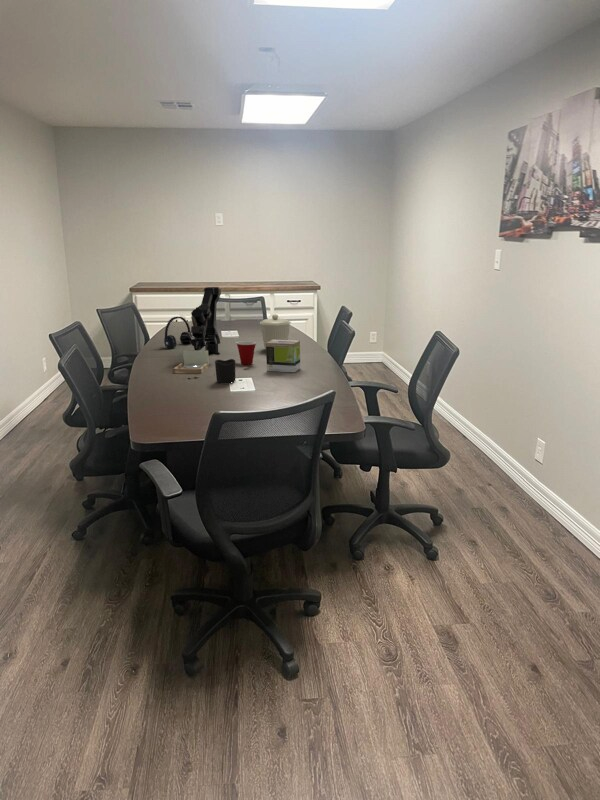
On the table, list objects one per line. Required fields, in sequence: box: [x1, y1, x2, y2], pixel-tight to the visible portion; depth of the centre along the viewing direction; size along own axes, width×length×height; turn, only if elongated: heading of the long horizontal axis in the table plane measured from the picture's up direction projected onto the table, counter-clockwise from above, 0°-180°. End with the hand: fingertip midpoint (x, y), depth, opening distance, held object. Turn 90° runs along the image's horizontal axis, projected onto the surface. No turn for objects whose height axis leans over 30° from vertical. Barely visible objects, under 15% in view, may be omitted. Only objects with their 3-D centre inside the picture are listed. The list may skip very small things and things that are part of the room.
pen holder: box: [214, 358, 236, 384], centre depth 257 cm, size 9×9×10 cm
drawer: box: [180, 349, 210, 369], centre depth 278 cm, size 14×13×9 cm
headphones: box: [163, 316, 193, 349], centre depth 336 cm, size 20×7×18 cm, turn 148°
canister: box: [259, 314, 292, 350], centre depth 322 cm, size 18×18×21 cm
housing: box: [172, 362, 209, 374], centre depth 276 cm, size 14×14×3 cm
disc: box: [185, 364, 201, 369], centre depth 278 cm, size 8×8×2 cm
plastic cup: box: [235, 340, 257, 366], centre depth 290 cm, size 11×11×12 cm
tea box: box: [265, 339, 301, 373], centre depth 277 cm, size 15×10×15 cm
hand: (196, 353), depth 284 cm, fingers closed, pressing on drawer
